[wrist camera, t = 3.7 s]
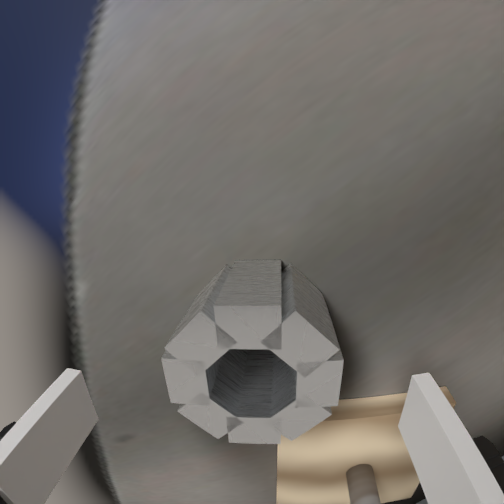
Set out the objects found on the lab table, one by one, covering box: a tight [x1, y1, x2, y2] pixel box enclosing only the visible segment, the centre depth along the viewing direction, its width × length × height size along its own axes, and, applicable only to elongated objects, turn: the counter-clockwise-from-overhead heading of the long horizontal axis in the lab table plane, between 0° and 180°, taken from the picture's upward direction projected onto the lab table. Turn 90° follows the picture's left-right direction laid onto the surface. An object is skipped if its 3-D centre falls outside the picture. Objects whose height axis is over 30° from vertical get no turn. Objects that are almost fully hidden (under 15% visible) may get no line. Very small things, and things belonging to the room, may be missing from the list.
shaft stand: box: [276, 386, 456, 504], centre depth 16 cm, size 12×12×8 cm
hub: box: [161, 259, 344, 444], centre depth 15 cm, size 7×7×6 cm
